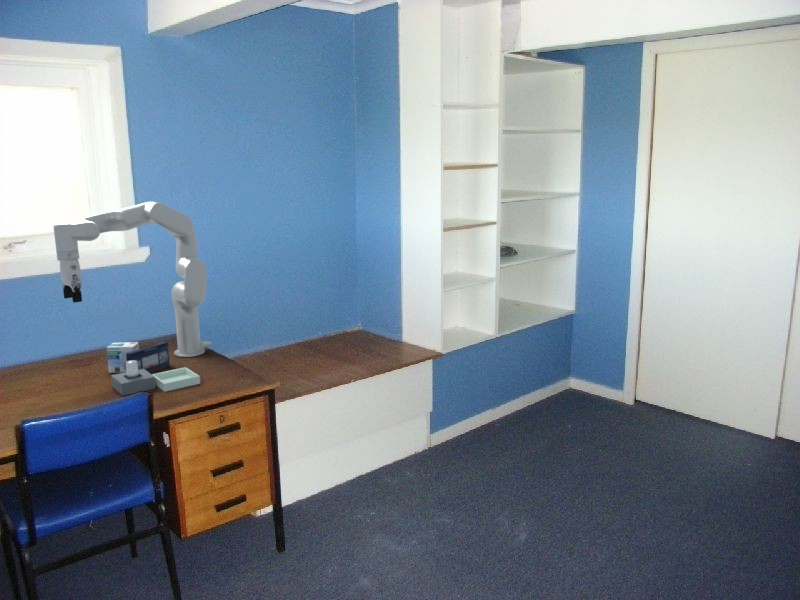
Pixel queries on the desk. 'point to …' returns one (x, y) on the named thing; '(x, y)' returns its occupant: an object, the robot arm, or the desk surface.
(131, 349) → the light bulb box
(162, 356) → the vhs cassette tape
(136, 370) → the steel pin
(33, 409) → the desk surface
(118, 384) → the pin holder
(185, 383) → the tray
